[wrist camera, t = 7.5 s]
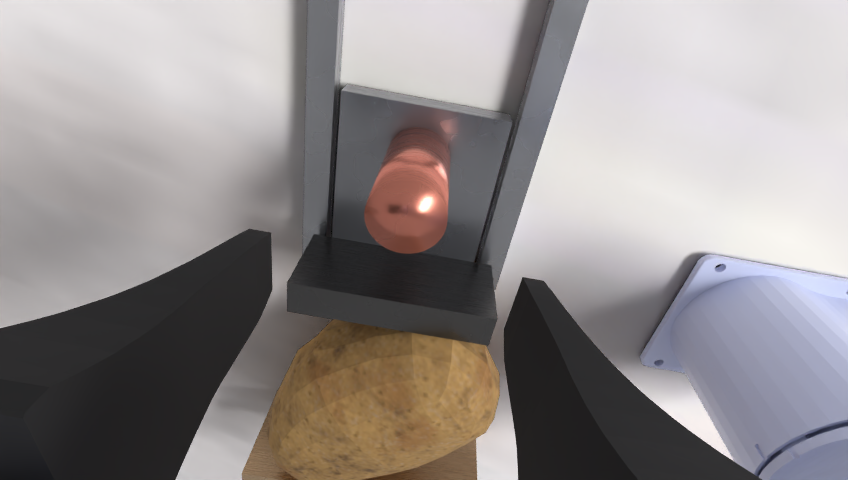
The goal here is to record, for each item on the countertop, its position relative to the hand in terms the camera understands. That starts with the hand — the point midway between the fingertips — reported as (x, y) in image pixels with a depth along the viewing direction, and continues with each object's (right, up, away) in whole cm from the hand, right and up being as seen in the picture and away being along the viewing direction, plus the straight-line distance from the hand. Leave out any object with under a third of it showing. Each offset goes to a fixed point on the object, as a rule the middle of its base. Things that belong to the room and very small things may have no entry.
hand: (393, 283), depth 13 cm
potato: (-1, -5, +15) cm, 16 cm away
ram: (0, +4, +9) cm, 10 cm away
